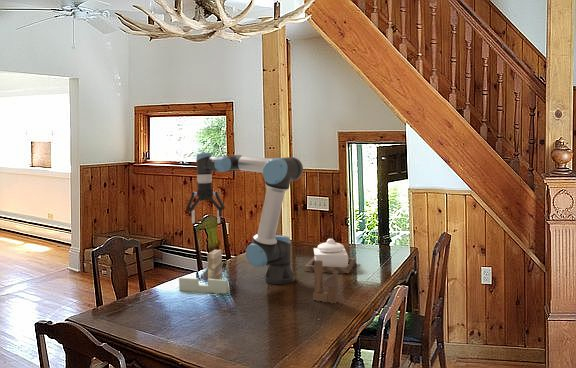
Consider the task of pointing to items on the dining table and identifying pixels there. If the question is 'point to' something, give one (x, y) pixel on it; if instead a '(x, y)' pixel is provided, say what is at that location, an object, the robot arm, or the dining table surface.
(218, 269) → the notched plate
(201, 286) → the notched rail
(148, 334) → the dining table surface
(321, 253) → the butter dish
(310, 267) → the dish tray rim
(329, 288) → the wooden block
